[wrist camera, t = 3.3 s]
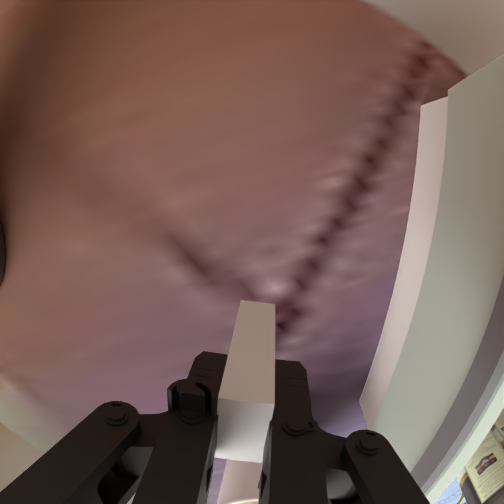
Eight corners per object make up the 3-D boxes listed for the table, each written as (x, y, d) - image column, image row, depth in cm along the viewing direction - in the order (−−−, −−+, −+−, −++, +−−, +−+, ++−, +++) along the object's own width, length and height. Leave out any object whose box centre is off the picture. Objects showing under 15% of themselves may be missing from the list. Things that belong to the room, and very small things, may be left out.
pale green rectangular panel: (371, 443, 23) (358, 442, 23) (458, 92, 16) (441, 87, 16) (372, 559, 12) (354, 559, 12) (566, 33, 4) (540, 17, 4)
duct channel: (358, 401, 29) (371, 442, 23) (420, 105, 21) (457, 93, 16) (452, 396, 29) (473, 429, 23) (519, 142, 21) (560, 143, 15)
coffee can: (476, 448, 31) (511, 513, 18) (426, 454, 31) (457, 533, 18) (514, 394, 29) (563, 459, 15) (465, 396, 29) (517, 478, 15)
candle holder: (210, 432, 31) (190, 521, 20) (267, 382, 29) (263, 485, 17) (278, 466, 32) (277, 548, 21) (338, 423, 30) (356, 515, 18)
